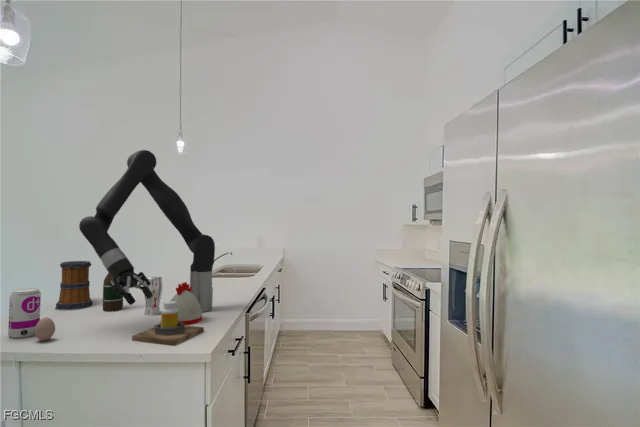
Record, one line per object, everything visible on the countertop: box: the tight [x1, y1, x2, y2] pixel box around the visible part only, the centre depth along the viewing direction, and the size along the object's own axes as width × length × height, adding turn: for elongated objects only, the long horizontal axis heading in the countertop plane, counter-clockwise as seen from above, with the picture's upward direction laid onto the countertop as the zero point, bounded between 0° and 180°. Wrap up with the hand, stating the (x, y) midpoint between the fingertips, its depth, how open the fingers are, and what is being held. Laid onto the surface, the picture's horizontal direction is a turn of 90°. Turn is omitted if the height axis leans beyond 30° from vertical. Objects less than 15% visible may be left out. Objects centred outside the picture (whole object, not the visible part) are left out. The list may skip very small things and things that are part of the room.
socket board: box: [131, 322, 205, 346], centre depth 125 cm, size 16×16×4 cm
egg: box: [34, 316, 56, 342], centre depth 118 cm, size 5×5×7 cm
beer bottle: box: [102, 271, 124, 313], centre depth 161 cm, size 8×8×24 cm
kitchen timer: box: [170, 281, 203, 326], centre depth 144 cm, size 14×14×15 cm
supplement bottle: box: [160, 300, 178, 328], centre depth 125 cm, size 5×5×10 cm
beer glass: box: [144, 276, 163, 316], centre depth 155 cm, size 7×7×15 cm
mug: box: [54, 260, 94, 311], centre depth 168 cm, size 19×14×20 cm
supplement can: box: [7, 287, 42, 339], centre depth 124 cm, size 8×8×15 cm
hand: (142, 300), depth 130 cm, fingers open, 8 cm apart
